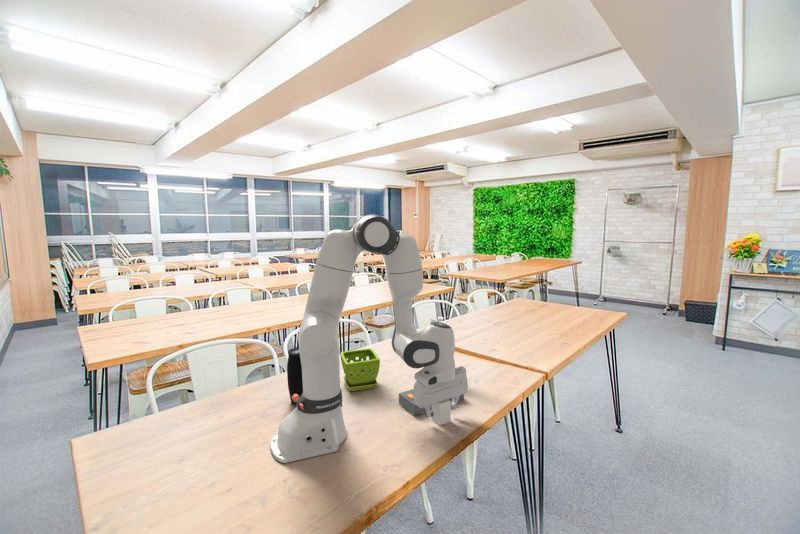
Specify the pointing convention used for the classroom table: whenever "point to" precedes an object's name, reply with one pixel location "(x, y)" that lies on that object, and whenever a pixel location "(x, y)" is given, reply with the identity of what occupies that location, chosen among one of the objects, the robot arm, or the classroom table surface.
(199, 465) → the classroom table surface
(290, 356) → the portable speaker
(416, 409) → the power strip
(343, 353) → the flower pot
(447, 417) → the block
